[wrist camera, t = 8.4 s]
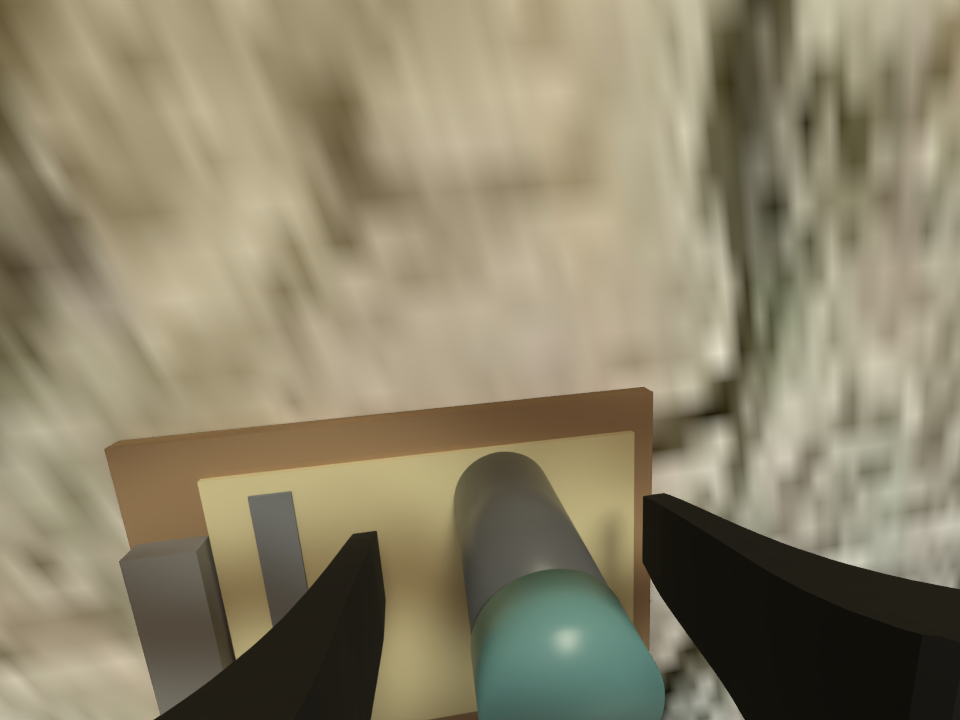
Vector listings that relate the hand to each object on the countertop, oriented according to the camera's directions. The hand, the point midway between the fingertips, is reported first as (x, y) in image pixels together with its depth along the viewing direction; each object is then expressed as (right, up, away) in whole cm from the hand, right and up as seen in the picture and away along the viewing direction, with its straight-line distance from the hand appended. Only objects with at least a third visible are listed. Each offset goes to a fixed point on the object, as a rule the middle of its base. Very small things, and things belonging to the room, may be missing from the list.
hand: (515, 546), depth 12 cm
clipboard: (-3, -3, +3) cm, 5 cm away
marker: (0, +1, +2) cm, 2 cm away
